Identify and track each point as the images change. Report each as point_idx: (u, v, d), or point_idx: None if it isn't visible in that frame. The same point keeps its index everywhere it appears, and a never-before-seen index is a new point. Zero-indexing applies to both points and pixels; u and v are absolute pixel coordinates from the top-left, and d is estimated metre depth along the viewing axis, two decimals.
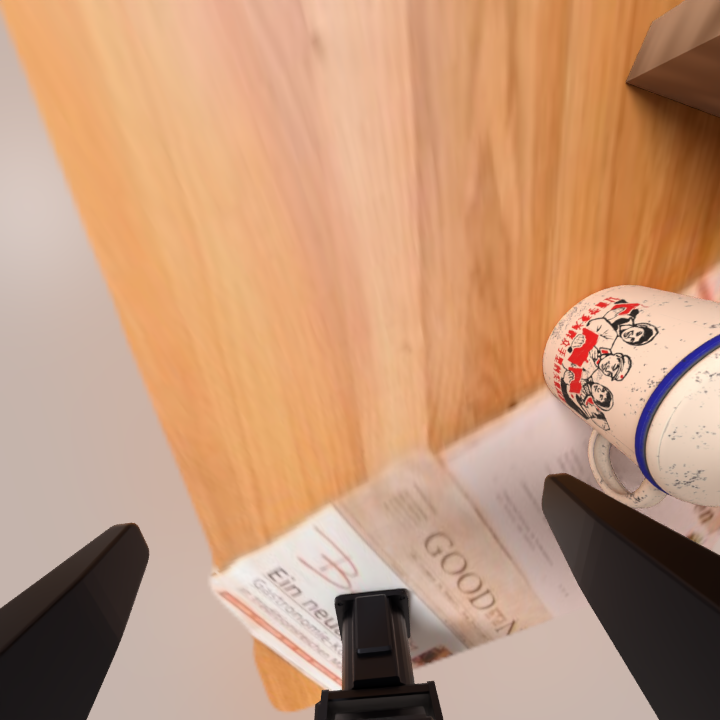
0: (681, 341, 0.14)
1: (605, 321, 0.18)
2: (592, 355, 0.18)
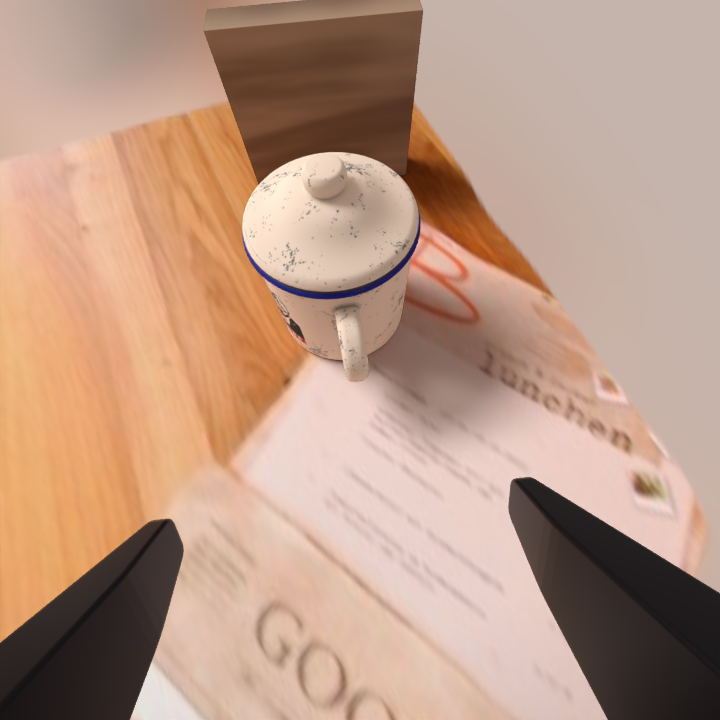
0: None
1: None
2: None
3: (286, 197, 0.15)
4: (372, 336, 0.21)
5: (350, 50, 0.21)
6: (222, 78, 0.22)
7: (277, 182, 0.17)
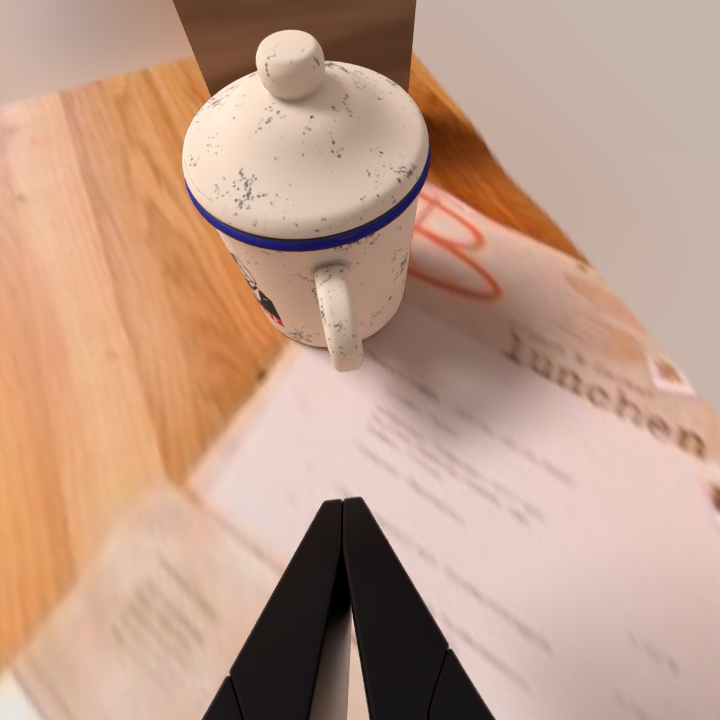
0: None
1: None
2: None
3: (238, 103, 0.11)
4: (368, 314, 0.16)
5: None
6: None
7: (230, 93, 0.12)
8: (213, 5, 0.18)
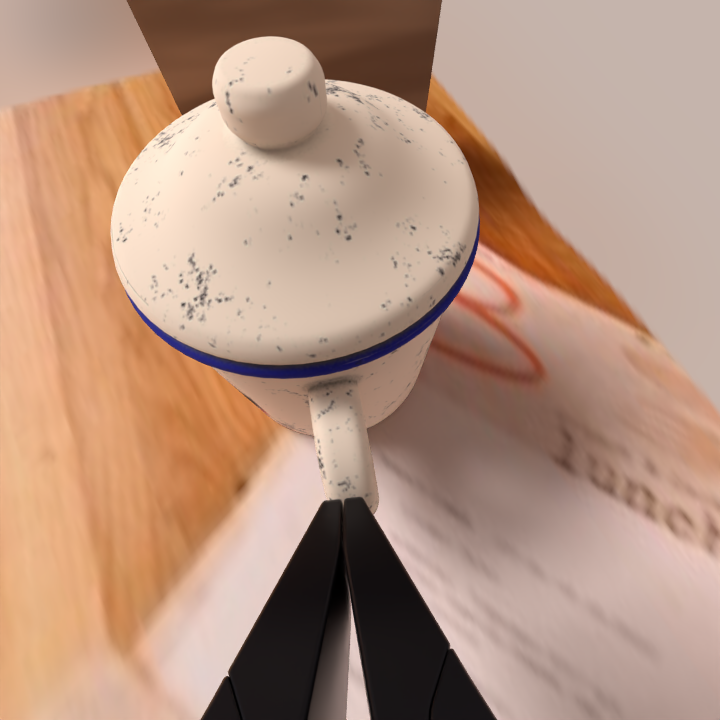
0: None
1: None
2: None
3: (188, 149, 0.07)
4: (380, 408, 0.12)
5: None
6: None
7: (185, 128, 0.08)
8: (181, 10, 0.14)
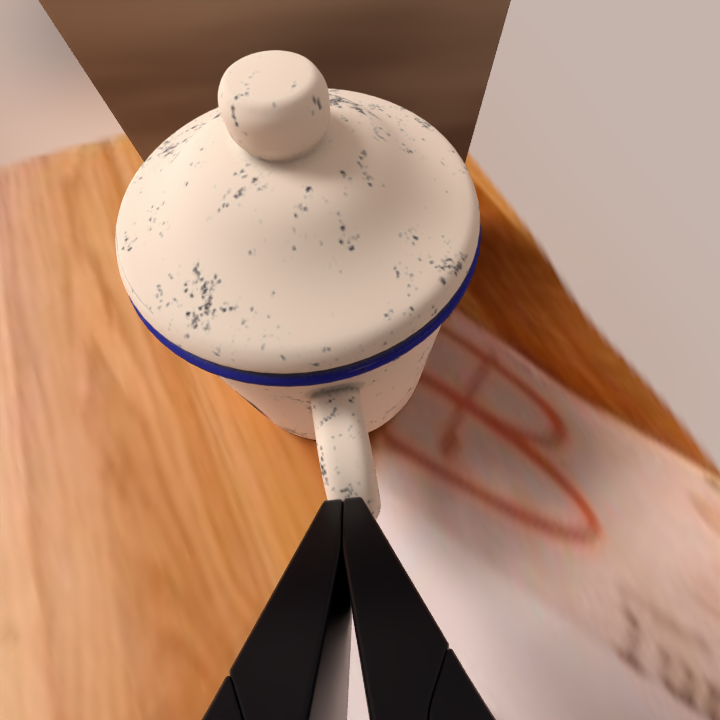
0: None
1: None
2: None
3: (194, 160, 0.07)
4: (381, 413, 0.12)
5: (362, 37, 0.10)
6: (102, 92, 0.11)
7: (189, 137, 0.08)
8: (173, 111, 0.12)
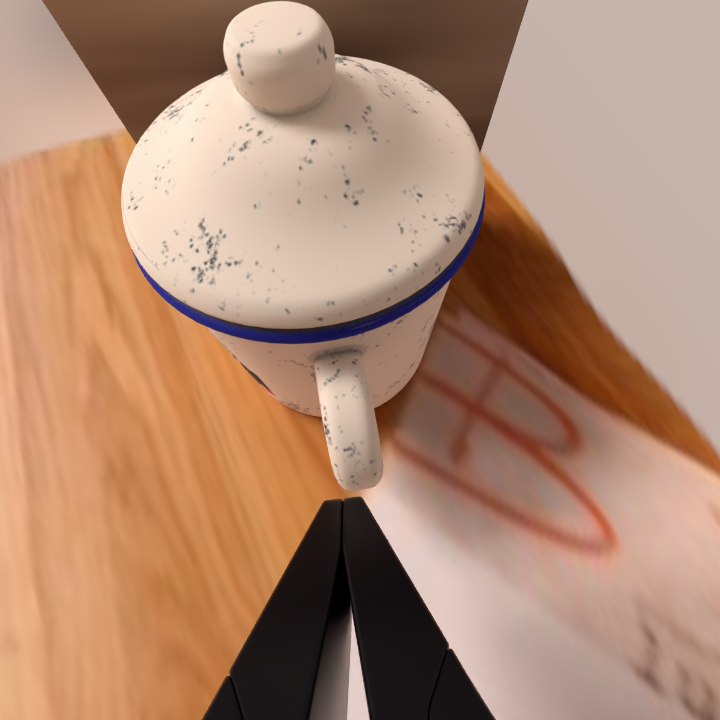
0: None
1: None
2: None
3: (199, 116, 0.07)
4: (383, 387, 0.12)
5: (375, 25, 0.10)
6: (101, 85, 0.10)
7: (194, 100, 0.08)
8: None
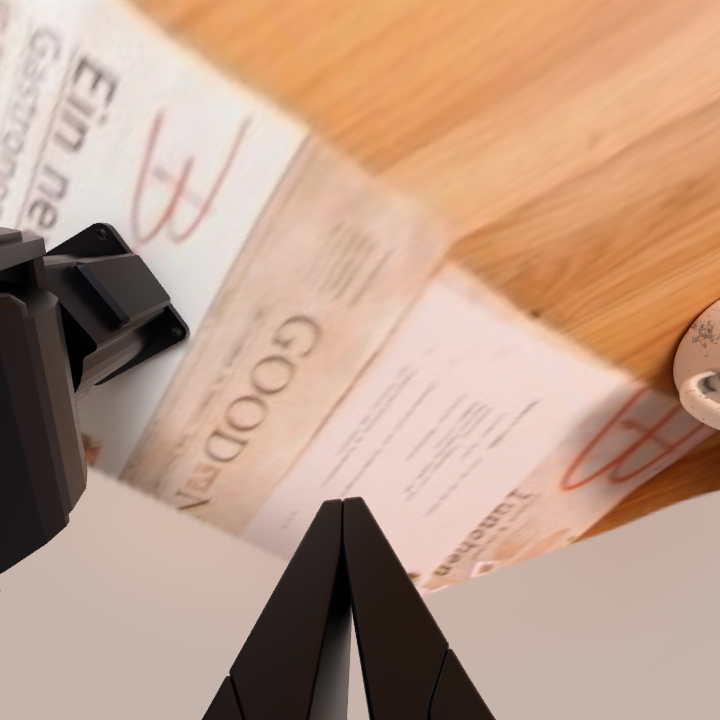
0: None
1: None
2: None
3: None
4: (714, 401, 0.20)
5: None
6: None
7: None
8: None
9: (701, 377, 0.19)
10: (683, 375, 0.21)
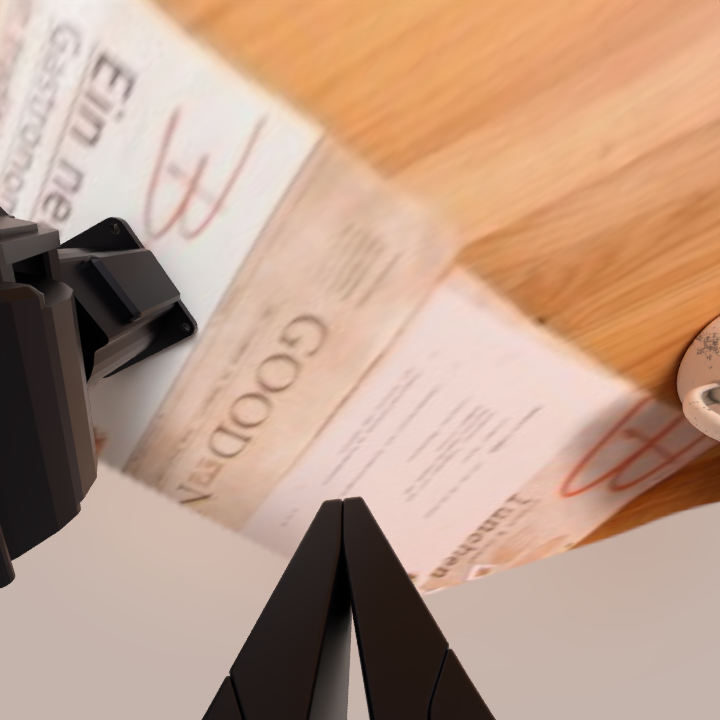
0: None
1: None
2: None
3: None
4: (717, 413, 0.20)
5: None
6: None
7: None
8: None
9: (705, 389, 0.19)
10: (687, 386, 0.21)
